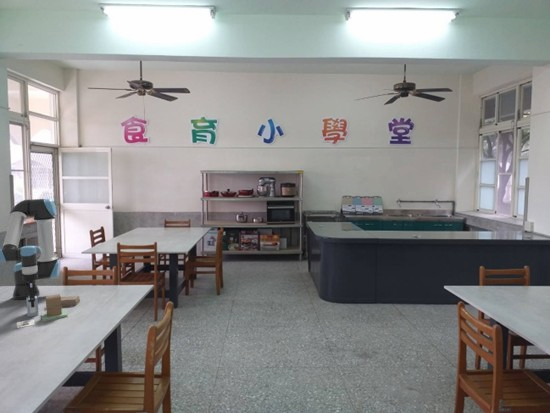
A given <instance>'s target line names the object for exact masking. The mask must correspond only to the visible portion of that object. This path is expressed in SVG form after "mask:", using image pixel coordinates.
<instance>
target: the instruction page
mask: <svg viewBox="0 0 550 413" xmlns="http://www.w3.org/2000/svg"><path fill="white" fill-rule="evenodd" d="M30 326H35V319H33V318H32V319H27V320H22V321H17V322H16V329H21V328H25V327H30Z"/></svg>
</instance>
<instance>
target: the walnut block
mask: <svg viewBox="0 0 550 413" xmlns="http://www.w3.org/2000/svg"><path fill="white" fill-rule="evenodd" d="M61 297H62V296H61V295H60V293H59V294H51V295H47V296H45V306H46V307H45V308H46V312H47V316H48V317H50V316H55V315H60V314H62V309H63V308H62V307H61Z"/></svg>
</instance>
